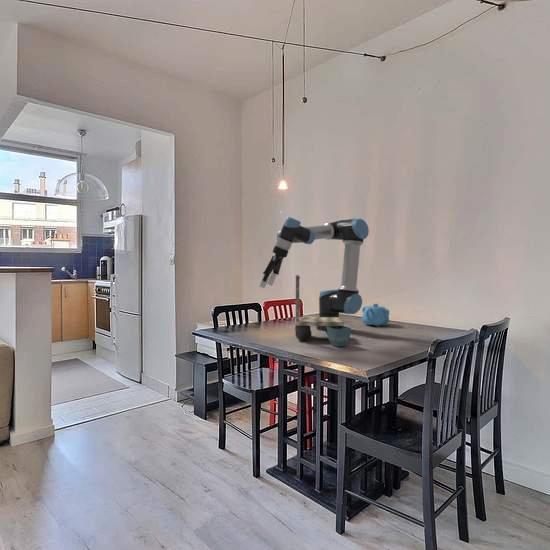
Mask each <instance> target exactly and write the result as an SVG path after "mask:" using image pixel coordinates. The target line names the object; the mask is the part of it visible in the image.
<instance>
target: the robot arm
mask: <svg viewBox="0 0 550 550" xmlns="http://www.w3.org/2000/svg"><path fill="white" fill-rule="evenodd" d="M369 231H370V230H369V226H368V224H367V221H365V220H364V219H363V218H351V219H342V220H337V221H333V222H328V223H324V224H323V225H314V226H302V225H301V220H298V219H295V218H293V217H291V216H288V217H286V219H285V221H284V223H283V224H282V227H281V229H280V230H279V231H278V232H277V235H276V243H275V245H274V247H273V249H272V253H273V254H274V255H272V257H271V259H270V260H269V262H268V263H267V266H266V268H265V270H264V271H263V272H262V274H263V277H262V279H261V281H260V284H259V287H260V288H261V289H265V288H266V286H267V285H269V286H273V285H274V283H275V280H276V277H277V275H278V276H279V274H280V270H281V267H282V263H283V260H284V258H287V256H288V253H289V250H291V247H292V245H293V244H299V243H301V244H302V243H303V244H305V245H312V244H313V243H314V242H315V240H323V239H325V240H328V241H329V240H339V241H340V240H341V241H342V243H343V244H344V253H343V261H342V274H341V282H340V283H341V284H340V286H339V287H338V289H329V290H321V291H320V292H319V298H318V302H319V303H318V306H319V308H318V310H319V315H318V317H340V314H346V315H355V314H357V313H359V311H360V310H361V308H362V305H363V298H362V296H361V295H360V294H359V292H360V290H359V289H358V287H357V284H358V273H359V272H358V271H359V265H360V264H359V263H360V253H361V246H362V245H364V240H366V239H367V237H369ZM315 328H316V330H320V331H325V326H315Z"/></svg>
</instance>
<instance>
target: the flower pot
mask: <svg viewBox="0 0 550 550" xmlns="http://www.w3.org/2000/svg"><path fill="white" fill-rule="evenodd" d="M351 331H352V328H351V327H348V326H345V325H344V326H327V333H326V335H327V334H328V335H327V337H328V338H327V339H328V341H329V343H330V344H331V346H333V347H337V348H338V347H346V346H348V344H349V341H350V337H351Z"/></svg>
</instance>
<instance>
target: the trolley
mask: <svg viewBox="0 0 550 550" xmlns="http://www.w3.org/2000/svg"><path fill="white" fill-rule="evenodd" d="M300 279H301V276H300V275H299V274H295V317H294V319H295V320H294V321H295V323H294V324H295V327H294V331H295V337H296V339H297V340H298V341H300V342H307V341H309V340H310V339H311V337H312V335H313V334H312V330H311V326H313V327H316V326H325V330H324V332H325V333H326V335H327V336H328V334H327V326H345V325H344V320H343V319H342V318H341V317H340V316H339V317H319V316H300Z"/></svg>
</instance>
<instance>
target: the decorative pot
mask: <svg viewBox="0 0 550 550" xmlns="http://www.w3.org/2000/svg"><path fill="white" fill-rule="evenodd" d="M361 311H362V316H361V321H362V322H363V324H365V325H366V326H374V327H380V326H381V327H382V326H385V325H387V324H389V323H390V322H391V319H390V318H389V317H390V310H389V309H388V308H386V307H385V306H382V305H381V306H379V303H373V304H372V305H369V306H364V307H363V308H362V310H361Z"/></svg>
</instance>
